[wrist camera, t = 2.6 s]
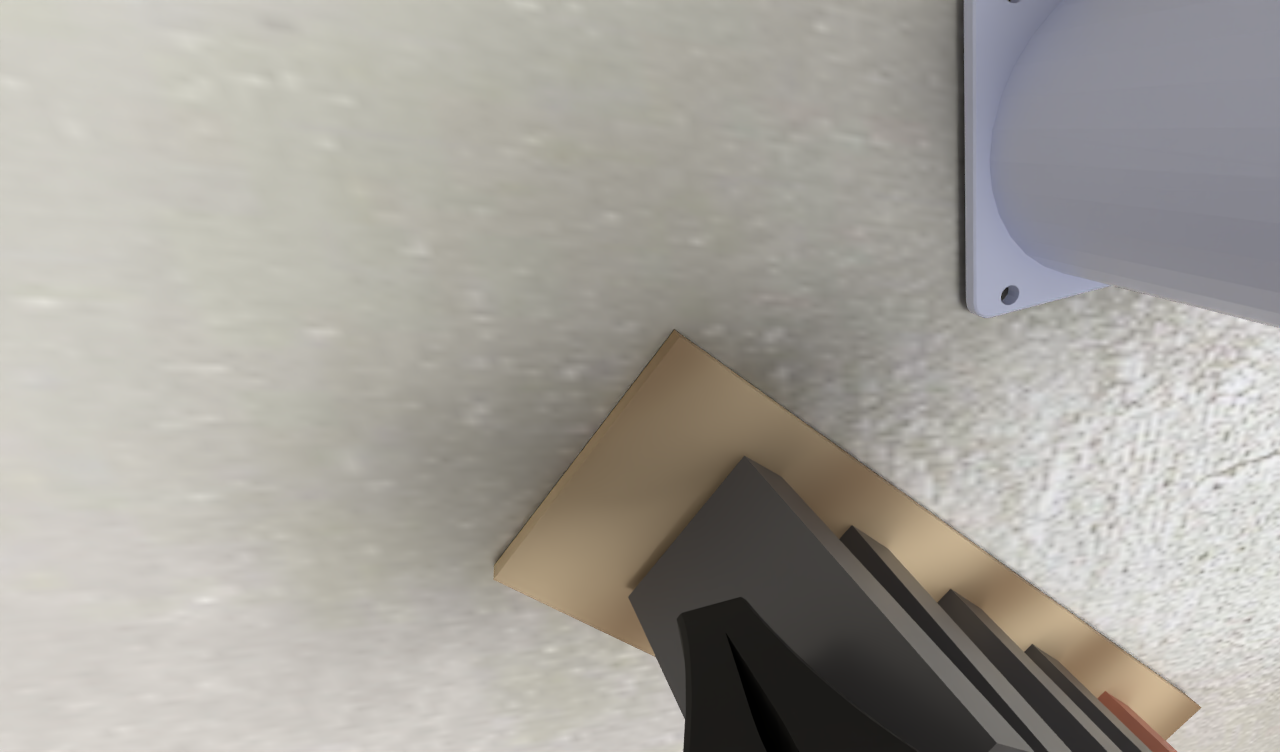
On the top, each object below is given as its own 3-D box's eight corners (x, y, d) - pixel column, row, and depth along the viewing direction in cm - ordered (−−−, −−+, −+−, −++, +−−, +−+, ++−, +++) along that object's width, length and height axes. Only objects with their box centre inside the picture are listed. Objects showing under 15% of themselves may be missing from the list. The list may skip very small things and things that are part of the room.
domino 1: (781, 476, 17) (1036, 753, 11) (668, 610, 18) (842, 940, 12) (744, 455, 17) (996, 742, 10) (628, 596, 17) (790, 945, 11)
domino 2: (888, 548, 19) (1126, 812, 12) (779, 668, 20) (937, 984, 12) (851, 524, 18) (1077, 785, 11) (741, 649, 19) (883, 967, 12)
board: (1186, 694, 25) (1201, 707, 25) (1040, 831, 26) (1051, 845, 26) (674, 329, 16) (680, 336, 15) (494, 565, 17) (493, 579, 17)
